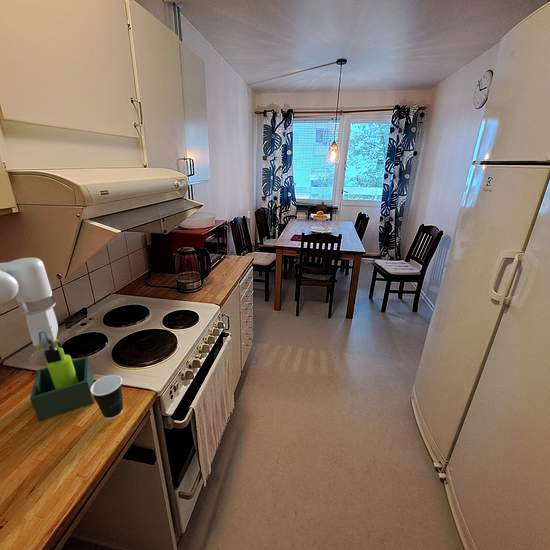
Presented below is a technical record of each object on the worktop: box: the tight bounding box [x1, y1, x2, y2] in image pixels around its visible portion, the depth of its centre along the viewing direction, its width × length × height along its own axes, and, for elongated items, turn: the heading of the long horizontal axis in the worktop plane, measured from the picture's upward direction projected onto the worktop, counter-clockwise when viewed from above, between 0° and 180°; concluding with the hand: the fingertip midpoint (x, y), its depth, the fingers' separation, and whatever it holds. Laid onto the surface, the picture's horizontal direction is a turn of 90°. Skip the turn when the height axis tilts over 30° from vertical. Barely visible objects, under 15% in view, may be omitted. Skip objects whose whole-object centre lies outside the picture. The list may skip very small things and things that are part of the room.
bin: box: [29, 356, 95, 422], centre depth 89 cm, size 14×14×9 cm
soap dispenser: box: [35, 338, 79, 389], centre depth 87 cm, size 6×7×20 cm
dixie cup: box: [90, 374, 124, 421], centre depth 83 cm, size 8×8×11 cm
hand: (55, 356), depth 85 cm, fingers closed on soap dispenser, 3 cm apart
